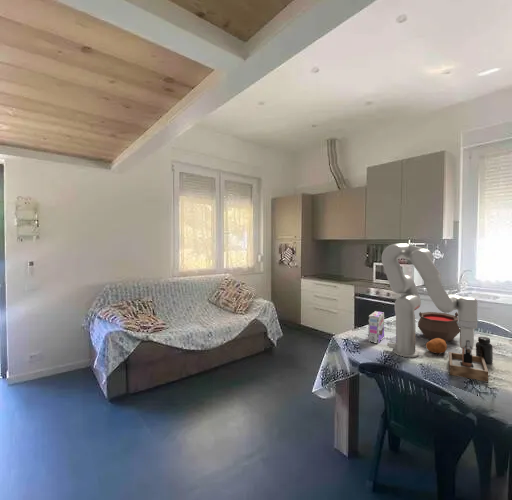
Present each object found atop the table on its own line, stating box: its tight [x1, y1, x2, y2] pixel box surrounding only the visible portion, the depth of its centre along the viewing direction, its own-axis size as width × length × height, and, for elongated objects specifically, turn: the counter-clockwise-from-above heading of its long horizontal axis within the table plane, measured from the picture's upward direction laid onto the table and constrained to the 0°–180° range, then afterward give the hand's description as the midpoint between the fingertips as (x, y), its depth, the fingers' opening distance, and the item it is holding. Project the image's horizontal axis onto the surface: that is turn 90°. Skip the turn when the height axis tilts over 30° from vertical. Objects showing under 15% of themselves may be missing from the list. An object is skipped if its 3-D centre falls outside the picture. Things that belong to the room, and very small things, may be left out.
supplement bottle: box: [475, 336, 494, 365], centre depth 152 cm, size 7×7×12 cm
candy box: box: [367, 310, 385, 344], centre depth 186 cm, size 14×6×16 cm, turn 143°
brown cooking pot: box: [417, 311, 460, 343], centre depth 187 cm, size 24×24×16 cm
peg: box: [461, 348, 473, 367], centre depth 144 cm, size 4×4×11 cm
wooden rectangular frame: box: [448, 351, 489, 382], centre depth 143 cm, size 14×18×4 cm
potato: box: [425, 338, 448, 354], centre depth 165 cm, size 9×11×8 cm
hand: (466, 358), depth 144 cm, fingers open, 9 cm apart
